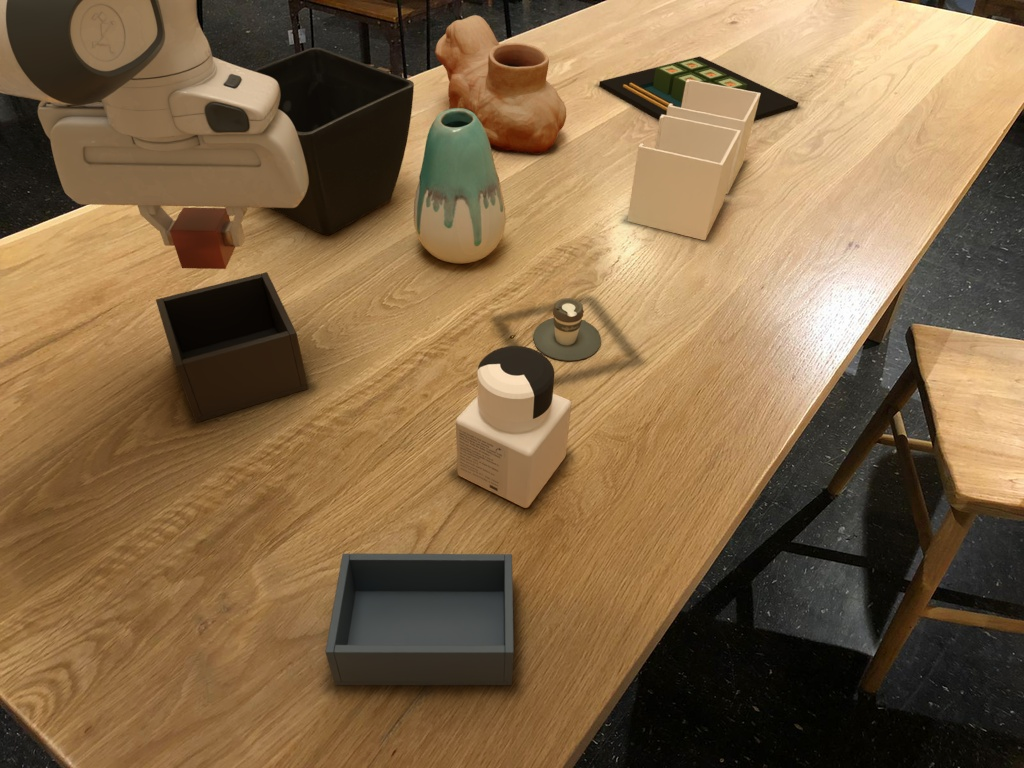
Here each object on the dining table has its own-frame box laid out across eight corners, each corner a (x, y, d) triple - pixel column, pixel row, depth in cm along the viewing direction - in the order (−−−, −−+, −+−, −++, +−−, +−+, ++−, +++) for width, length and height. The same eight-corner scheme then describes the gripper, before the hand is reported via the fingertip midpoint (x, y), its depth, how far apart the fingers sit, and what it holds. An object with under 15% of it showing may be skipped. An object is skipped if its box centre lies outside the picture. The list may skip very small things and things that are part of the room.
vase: (450, 285, 94) (446, 148, 82) (398, 244, 100) (386, 111, 88) (523, 253, 99) (528, 121, 87) (469, 216, 106) (467, 87, 93)
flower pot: (325, 258, 97) (304, 132, 86) (230, 209, 105) (199, 88, 94) (425, 199, 109) (418, 81, 97) (332, 159, 117) (315, 46, 105)
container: (499, 425, 77) (501, 324, 68) (566, 456, 74) (578, 355, 65) (456, 476, 72) (452, 374, 63) (527, 511, 69) (533, 409, 60)
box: (334, 685, 57) (324, 652, 53) (350, 588, 63) (342, 553, 59) (511, 685, 57) (513, 652, 54) (510, 589, 63) (512, 553, 60)
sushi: (599, 86, 140) (601, 65, 137) (699, 60, 150) (702, 41, 148) (693, 139, 125) (697, 117, 122) (797, 107, 135) (803, 86, 133)
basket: (196, 423, 76) (175, 366, 71) (175, 355, 83) (155, 299, 78) (308, 388, 80) (296, 332, 75) (279, 326, 87) (267, 271, 82)
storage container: (705, 240, 103) (722, 165, 95) (627, 221, 106) (638, 146, 98) (743, 162, 120) (760, 93, 112) (675, 147, 123) (687, 79, 115)
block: (181, 268, 70) (169, 230, 67) (194, 244, 73) (183, 207, 70) (225, 269, 70) (215, 231, 67) (236, 245, 73) (227, 207, 70)
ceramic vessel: (482, 89, 137) (482, 0, 127) (582, 142, 123) (591, 47, 113) (418, 108, 131) (413, 16, 121) (516, 167, 116) (519, 68, 106)
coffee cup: (590, 299, 92) (594, 265, 89) (636, 361, 84) (643, 327, 81) (497, 320, 89) (497, 285, 86) (536, 386, 81) (538, 351, 78)
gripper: (10, 108, 58) (77, 260, 68) (281, 113, 59) (309, 264, 68) (46, 75, 63) (104, 222, 72) (297, 80, 63) (322, 226, 73)
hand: (206, 242), depth 70 cm, fingers closed on block, 4 cm apart
